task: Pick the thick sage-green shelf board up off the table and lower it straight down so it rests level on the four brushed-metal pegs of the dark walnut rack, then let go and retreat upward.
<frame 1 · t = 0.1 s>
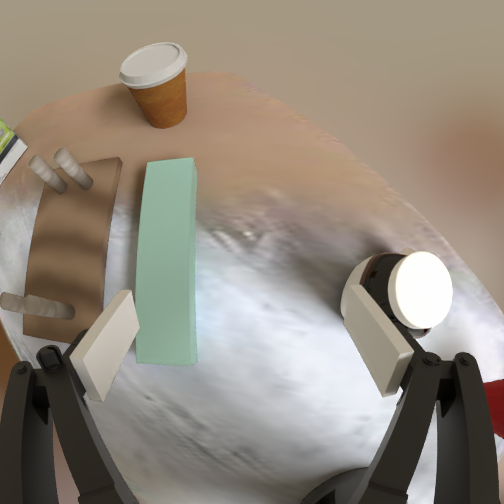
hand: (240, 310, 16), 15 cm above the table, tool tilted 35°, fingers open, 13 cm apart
shelf board: (171, 261, 33), on the table
peg rack: (68, 247, 33), on the table
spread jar: (382, 293, 32), on the table
disposable coffee cup: (168, 115, 39), on the table
tea box: (1, 169, 37), on the table
plastic cup: (475, 399, 27), on the table
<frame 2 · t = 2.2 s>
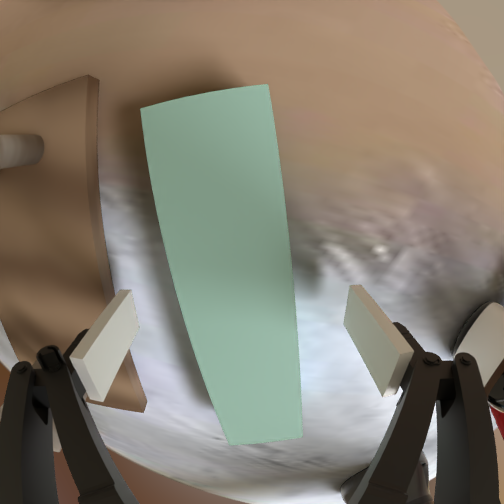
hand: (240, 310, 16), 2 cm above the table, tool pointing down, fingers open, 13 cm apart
shelf board: (241, 295, 18), on the table
peg rack: (40, 270, 17), on the table
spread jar: (488, 318, 21), on the table
plastic cup: (501, 394, 27), on the table
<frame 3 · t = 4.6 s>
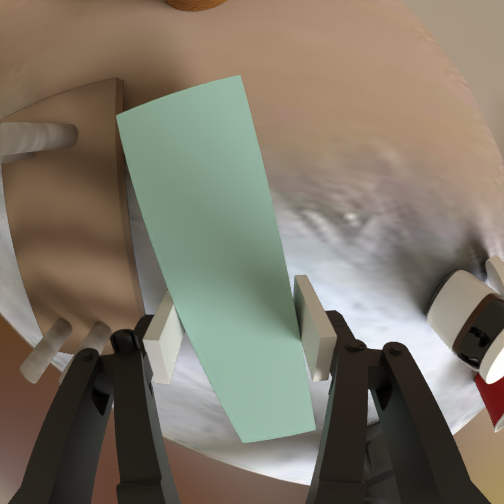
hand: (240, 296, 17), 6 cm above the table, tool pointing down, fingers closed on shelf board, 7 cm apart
shelf board: (240, 291, 18), point 5 cm above the table, touching gripper
peg rack: (67, 237, 21), on the table
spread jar: (461, 287, 26), on the table
plastic cup: (485, 369, 33), on the table
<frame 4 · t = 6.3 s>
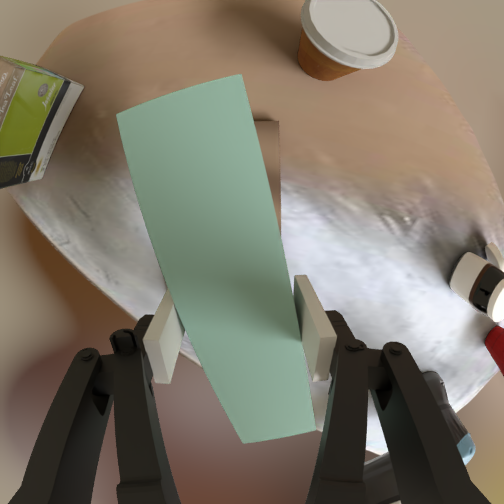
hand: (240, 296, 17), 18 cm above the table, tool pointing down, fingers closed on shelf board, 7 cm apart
shelf board: (240, 291, 18), point 17 cm above the table, touching gripper
peg rack: (222, 230, 34), on the table
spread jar: (469, 265, 37), on the table
disposable coffee cup: (321, 59, 28), on the table
tea box: (43, 122, 28), on the table
plastic cup: (492, 334, 44), on the table
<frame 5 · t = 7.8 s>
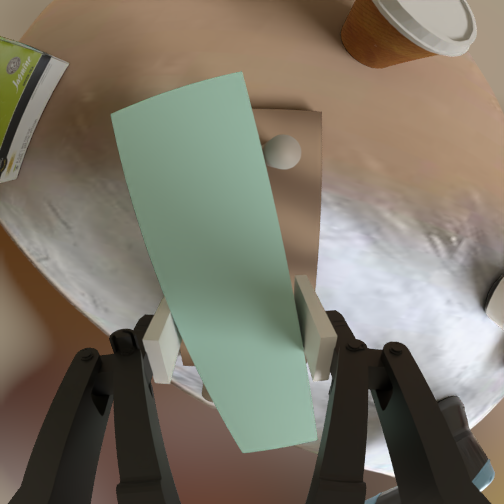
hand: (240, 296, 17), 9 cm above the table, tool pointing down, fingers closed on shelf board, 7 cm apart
shelf board: (240, 298, 17), point 9 cm above the table, touching gripper, peg rack
peg rack: (241, 251, 26), on the table
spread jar: (503, 287, 30), on the table
disposable coffee cup: (368, 43, 20), on the table
tea box: (20, 110, 20), on the table
when the fingers open (9 cm above the table, at t = 8.4 s): shelf board stays where it is, resting on peg rack.
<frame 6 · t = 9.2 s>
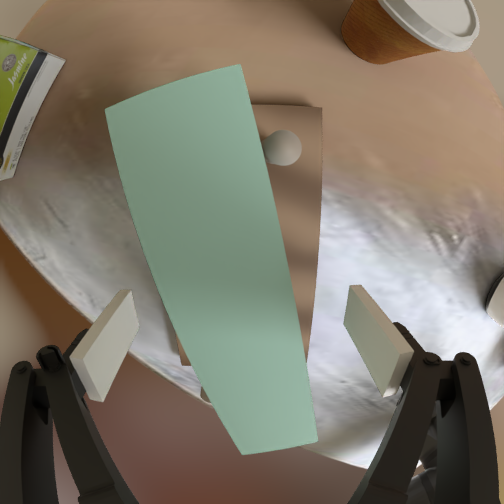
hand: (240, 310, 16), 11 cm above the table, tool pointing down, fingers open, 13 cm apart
shelf board: (239, 298, 17), point 9 cm above the table, touching peg rack
peg rack: (240, 250, 26), on the table
disposable coffee cup: (369, 38, 19), on the table
tea box: (16, 107, 19), on the table
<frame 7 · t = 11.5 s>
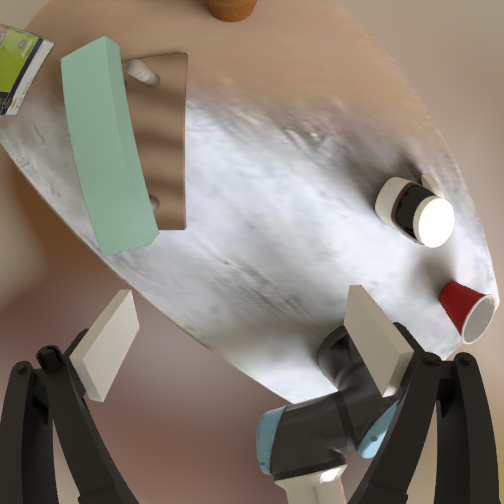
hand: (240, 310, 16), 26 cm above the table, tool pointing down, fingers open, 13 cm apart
shelf board: (110, 142, 27), point 9 cm above the table, touching peg rack
peg rack: (138, 142, 36), on the table
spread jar: (403, 197, 41), on the table
disposable coffee cup: (232, 7, 29), on the table
tea box: (23, 72, 28), on the table
plastic cup: (448, 291, 48), on the table
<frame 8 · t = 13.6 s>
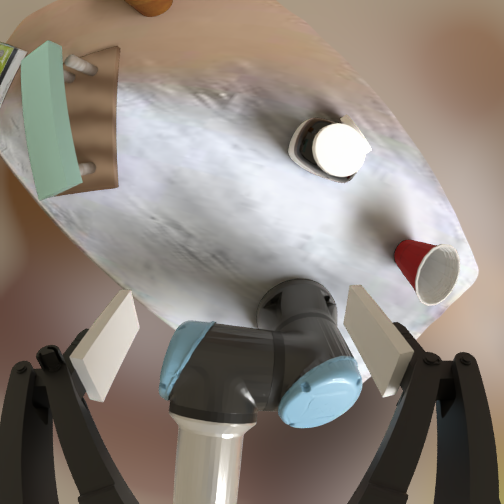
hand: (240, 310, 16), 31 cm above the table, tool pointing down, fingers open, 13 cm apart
shelf board: (53, 116, 29), point 9 cm above the table, touching peg rack
peg rack: (83, 121, 38), on the table
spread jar: (326, 144, 42), on the table
disposable coffee cup: (156, 4, 31), on the table
tea box: (4, 77, 32), on the table
plastic cup: (405, 252, 49), on the table
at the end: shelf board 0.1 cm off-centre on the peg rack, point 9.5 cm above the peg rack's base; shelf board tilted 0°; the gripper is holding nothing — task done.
